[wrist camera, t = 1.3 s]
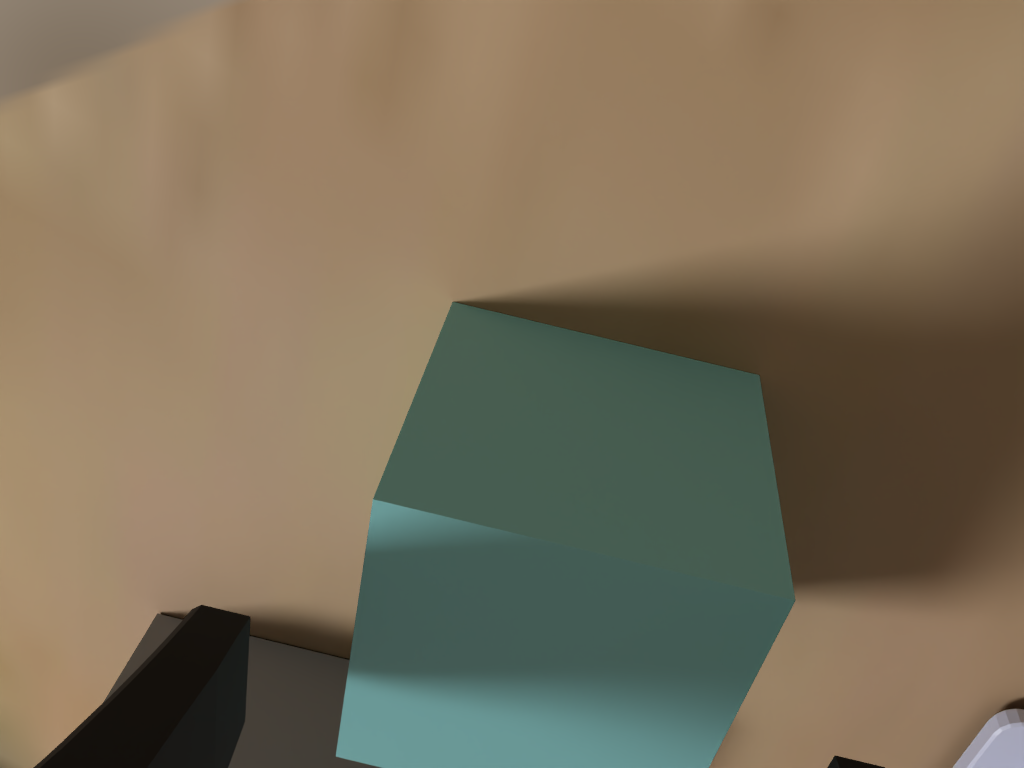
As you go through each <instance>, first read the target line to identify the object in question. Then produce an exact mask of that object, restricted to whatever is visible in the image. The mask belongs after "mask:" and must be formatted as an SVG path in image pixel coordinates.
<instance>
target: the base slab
mask: <svg viewBox="0 0 1024 768" xmlns="http://www.w3.org/2000/svg"><path fill="white" fill-rule="evenodd" d="M181 622H182V619H178V618H173V617H169V616H165V615H161V614H157V615H156V617H155V619H154V620H153V622H152V623H151V625H150V627H149V628H148V630H147V632H146V633H145V635H144V637H143V638H142V640H141V642H140V643H139V645H138V646H137V648H136V650H135V651H134V653H133V655H132V656H131V658H130V660H129V661H128V663H127V665H126V666H125V668H124V669H123V671H122V673H121V674H120V676H119V678H118V679H117V681H116V683H115V684H114V686H113V688H112V689H111V691H110V692H109V694H108V696H107V697H106V699H105V701H106V700H107V699H108V698H109V697H110V696H111V695H112V694H113V693H114V692H115V691H116V690H117V689H118V688H119V687H120V686H121V685H122V684H123V683H124V682H125V681H126V680H127V679H128V678H129V677H130V676H131V675H132V674H133V673H134V672H135V671H136V670H137V669H138V668H139V667H140V666H141V665H142V664H143V663H144V661H145V660H146V659H147V658H148V657H149V656H150V655H151V654H152V653H153V652H154V651H155V650H156V649H157V648H158V647H159V646H160V645H161V644H162V642H163V641H164V640H165V639H166V638H167V637H168V636H169V635H170V634H171V633H172V632H173V630H174V629H175V628H176V627H177V626H178V625H179V624H180V623H181ZM349 661H350V660H347V659H343V658H339V657H334V656H330V655H326V654H322V653H318V652H314V651H310V650H306V649H301V648H297V647H293V646H289V645H285V644H281V643H277V642H272V641H268V640H264V639H260V638H256V637H252V636H249V656H248V675H247V695H246V715H245V723H244V726H243V729H242V731H241V734H240V737H239V740H238V742H237V745H236V748H235V750H234V753H233V756H232V759H231V761H230V764H229V767H228V768H381V767H377V766H373V765H369V764H365V763H360V762H356V761H352V760H348V759H344V758H340V757H336V750H337V743H338V737H339V730H340V723H341V716H342V709H343V702H344V695H345V689H346V682H347V675H348V668H349ZM105 701H104V702H105ZM104 702H103V703H104Z"/></svg>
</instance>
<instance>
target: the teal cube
mask: <svg viewBox="0 0 1024 768" xmlns="http://www.w3.org/2000/svg"><path fill="white" fill-rule="evenodd" d="M794 602H795V595H794V589H793V583H792V577H791V570H790V564H789V558H788V551H787V545H786V539H785V533H784V526H783V520H782V514H781V508H780V501H779V495H778V489H777V483H776V476H775V470H774V464H773V457H772V451H771V445H770V439H769V432H768V426H767V420H766V414H765V407H764V401H763V395H762V388H761V382H760V376H759V375H757V374H752V373H748V372H744V371H740V370H736V369H732V368H727V367H723V366H719V365H715V364H711V363H706V362H702V361H698V360H694V359H690V358H686V357H681V356H677V355H673V354H669V353H665V352H661V351H656V350H652V349H648V348H644V347H640V346H635V345H631V344H627V343H623V342H619V341H615V340H610V339H606V338H602V337H598V336H594V335H589V334H585V333H581V332H577V331H573V330H569V329H564V328H560V327H556V326H552V325H548V324H544V323H539V322H535V321H531V320H527V319H523V318H518V317H514V316H510V315H506V314H502V313H498V312H493V311H489V310H485V309H481V308H477V307H473V306H468V305H464V304H460V303H456V302H452V305H451V307H450V310H449V312H448V315H447V317H446V320H445V322H444V325H443V327H442V330H441V332H440V335H439V337H438V340H437V342H436V345H435V347H434V349H433V352H432V354H431V357H430V359H429V362H428V364H427V367H426V369H425V372H424V374H423V377H422V379H421V382H420V384H419V387H418V389H417V392H416V394H415V397H414V399H413V402H412V404H411V406H410V409H409V411H408V414H407V416H406V419H405V421H404V424H403V426H402V429H401V431H400V434H399V436H398V439H397V441H396V444H395V446H394V449H393V451H392V454H391V456H390V458H389V461H388V463H387V466H386V468H385V471H384V473H383V476H382V478H381V481H380V483H379V486H378V488H377V491H376V493H375V496H374V498H373V503H372V510H371V517H370V524H369V530H368V537H367V544H366V551H365V558H364V565H363V572H362V579H361V585H360V592H359V599H358V606H357V613H356V620H355V627H354V634H353V640H352V647H351V654H350V661H349V668H348V675H347V682H346V689H345V695H344V702H343V709H342V716H341V723H340V730H339V737H338V743H337V750H336V757H340V758H344V759H348V760H352V761H356V762H360V763H365V764H369V765H373V766H377V767H381V768H709V766H710V764H711V762H712V760H713V758H714V756H715V755H716V753H717V751H718V749H719V747H720V745H721V743H722V741H723V739H724V737H725V735H726V733H727V731H728V729H729V728H730V726H731V724H732V722H733V720H734V718H735V716H736V714H737V712H738V710H739V708H740V706H741V704H742V702H743V701H744V699H745V697H746V695H747V693H748V691H749V689H750V687H751V685H752V683H753V681H754V679H755V677H756V676H757V674H758V672H759V670H760V668H761V666H762V664H763V662H764V660H765V658H766V656H767V654H768V652H769V650H770V649H771V647H772V645H773V643H774V641H775V639H776V637H777V635H778V633H779V631H780V629H781V627H782V625H783V623H784V622H785V620H786V618H787V616H788V614H789V612H790V610H791V608H792V606H793V604H794Z"/></svg>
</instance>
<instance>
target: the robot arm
mask: <svg viewBox="0 0 1024 768" xmlns="http://www.w3.org/2000/svg"><path fill="white" fill-rule="evenodd" d="M249 636H250V616H246V615H242V614H237V613H233V612H229V611H225V610H221V609H216V608H212V607H208V606H204V605H200V606H198V607H196V608H194V609H192V610H191V611H190V612H189V614H188V615H187V616H186V617H185V618H184V619H183V620H182V622H181V623H180V624H179V625H178V626H177V627H176V628H175V629H174V630H173V632H172V633H171V634H170V635H169V636H168V637H167V638H166V639H165V640H164V641H163V642H162V644H161V645H160V646H159V647H158V648H157V649H156V650H155V651H154V652H153V653H152V654H151V655H150V656H149V657H148V658H147V659H146V660H145V661H144V663H143V664H142V665H141V666H140V667H139V668H138V669H137V670H136V671H135V672H134V673H133V674H132V675H131V676H130V677H129V678H128V679H127V680H126V681H125V682H124V683H123V684H122V685H121V686H120V687H119V688H118V689H117V690H116V691H115V692H114V693H113V694H112V695H111V696H110V697H109V698H108V699H107V700H106V701H105V702H104V703H103V704H102V705H101V706H100V707H98V708H97V709H96V710H95V711H94V712H93V713H92V714H91V715H90V716H89V717H88V718H87V719H86V720H85V721H84V722H83V723H82V724H81V725H79V726H78V727H77V728H76V729H75V730H74V731H73V732H72V733H71V734H70V735H69V736H68V737H67V738H66V739H65V740H64V741H63V742H62V743H61V744H59V745H58V746H57V747H56V748H55V749H54V750H53V751H52V752H51V753H50V754H49V755H47V756H46V757H45V758H44V759H43V760H42V761H41V762H40V763H38V764H37V765H36V766H35V767H34V768H228V767H229V764H230V761H231V759H232V756H233V753H234V750H235V748H236V745H237V742H238V740H239V737H240V734H241V731H242V729H243V726H244V723H245V715H246V695H247V675H248V656H249ZM828 768H885V767H881V766H877V765H873V764H868V763H864V762H860V761H856V760H852V759H847V758H843V757H839V756H835V757H834V758H833V760H832V761H831V763H830V764H829V766H828ZM953 768H1024V709H1008V710H1004V711H1001V712H999V713H996V714H995V715H994V716H993V717H992V718H991V719H989V720H988V722H987V723H986V724H985V726H984V727H983V728H982V729H981V731H980V732H979V733H978V735H977V736H976V737H975V739H974V740H973V741H972V743H971V744H970V745H969V747H968V748H967V749H966V750H965V752H964V753H963V754H962V756H961V757H960V758H959V760H958V761H957V762H956V764H955V765H954V766H953Z"/></svg>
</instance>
